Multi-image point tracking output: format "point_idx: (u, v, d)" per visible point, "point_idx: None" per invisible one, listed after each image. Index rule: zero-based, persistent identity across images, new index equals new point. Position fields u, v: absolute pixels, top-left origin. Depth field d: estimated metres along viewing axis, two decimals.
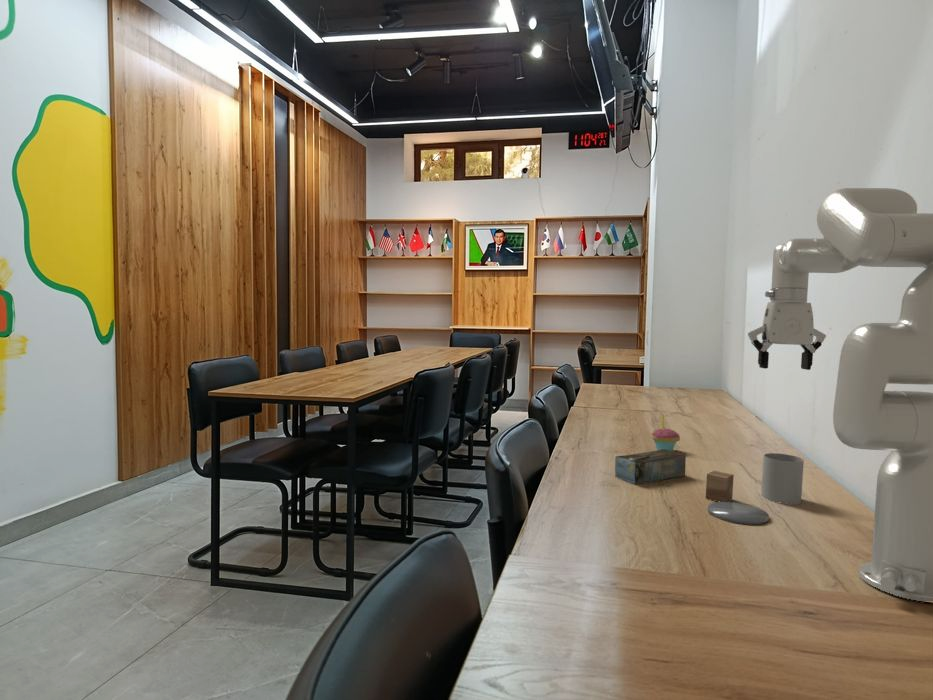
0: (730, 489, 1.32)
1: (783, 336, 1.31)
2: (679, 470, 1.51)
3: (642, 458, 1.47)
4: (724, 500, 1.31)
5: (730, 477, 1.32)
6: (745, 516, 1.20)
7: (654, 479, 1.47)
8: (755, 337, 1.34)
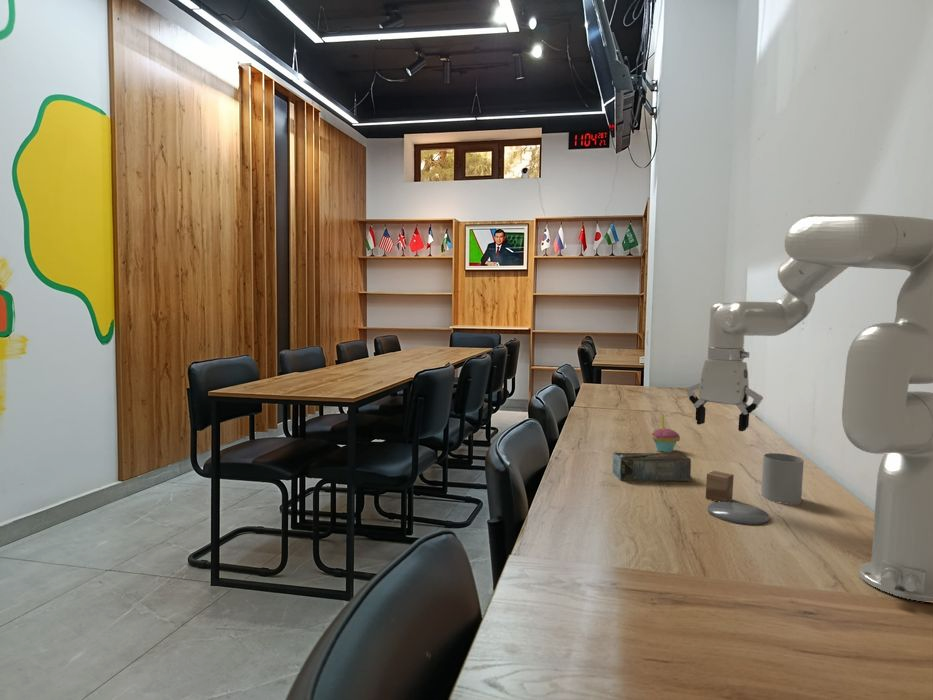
0: (730, 489, 1.32)
1: None
2: (681, 474, 1.47)
3: (635, 456, 1.49)
4: (724, 500, 1.31)
5: (730, 477, 1.32)
6: (745, 516, 1.20)
7: (647, 479, 1.47)
8: None
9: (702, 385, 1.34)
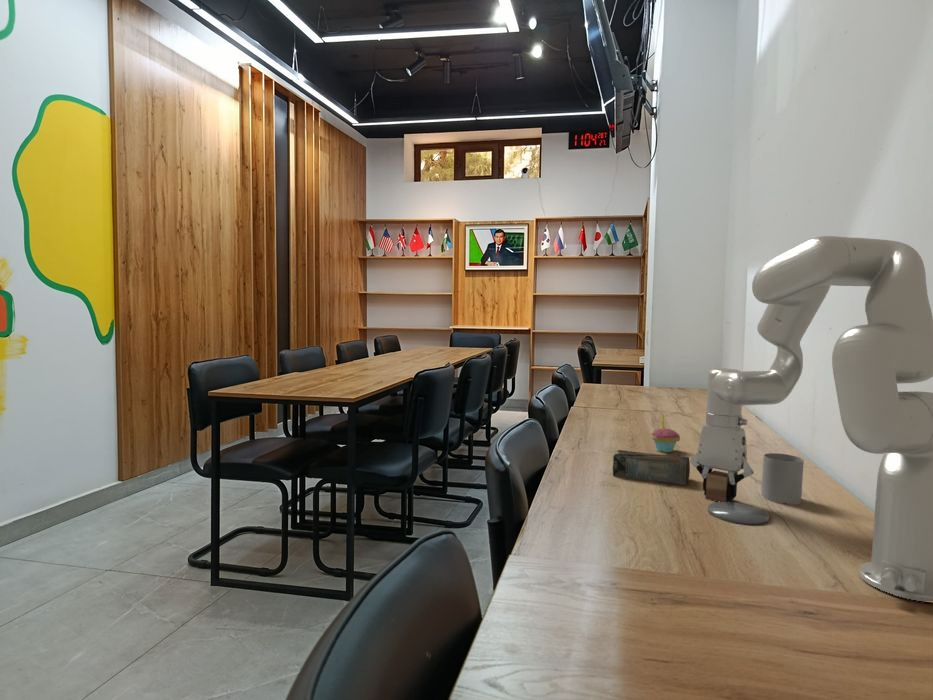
0: None
1: None
2: (676, 477, 1.44)
3: (631, 454, 1.51)
4: (724, 500, 1.31)
5: None
6: (745, 516, 1.20)
7: (639, 478, 1.48)
8: None
9: (700, 450, 1.34)
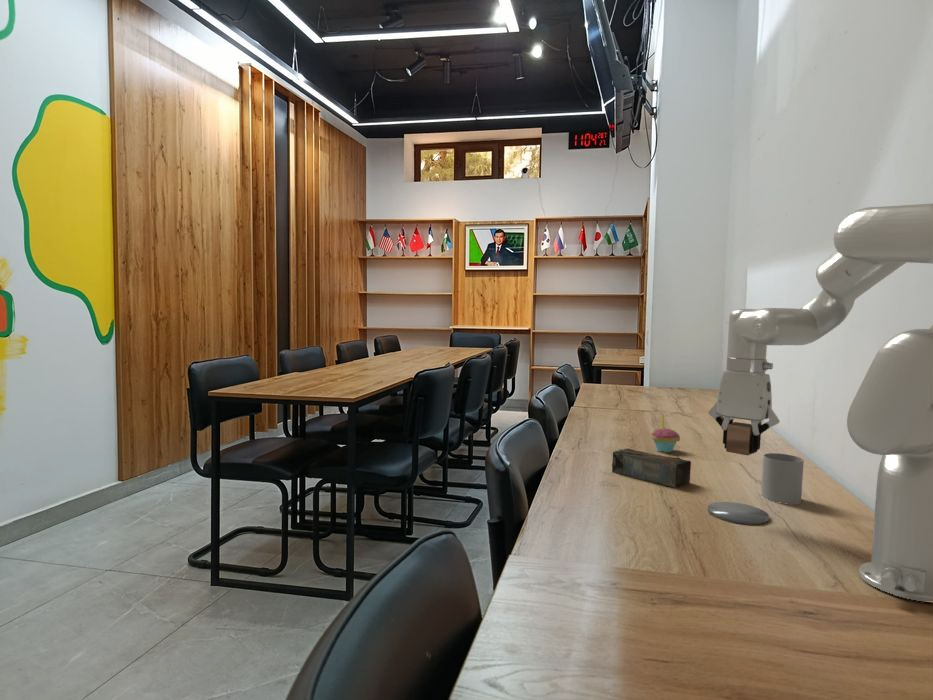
0: None
1: None
2: (666, 478, 1.43)
3: (630, 453, 1.53)
4: (747, 452, 1.19)
5: None
6: (745, 516, 1.20)
7: (634, 476, 1.50)
8: None
9: (720, 399, 1.23)
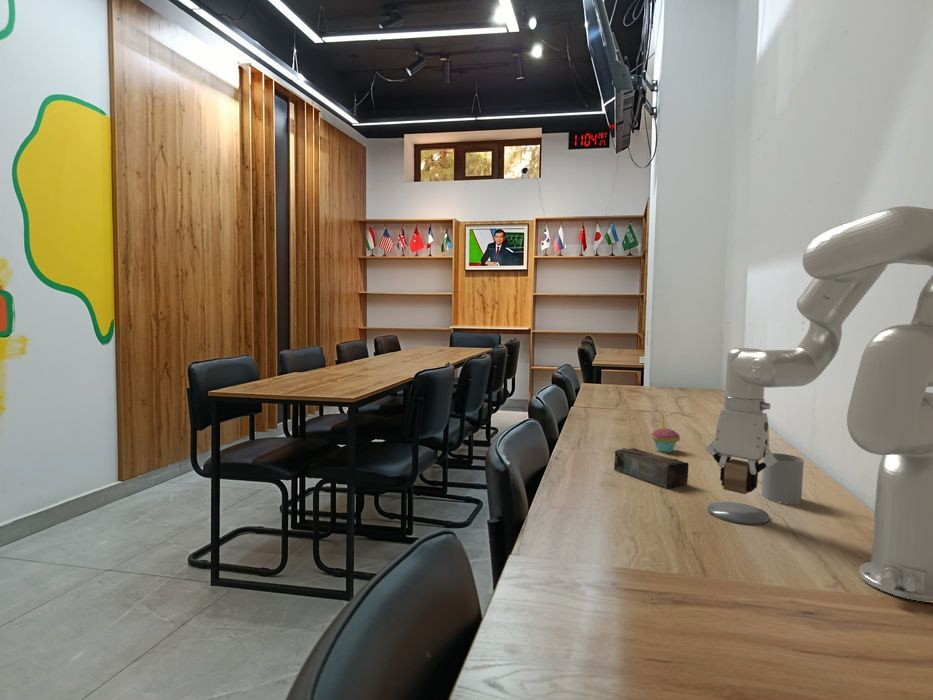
0: None
1: None
2: (658, 478, 1.43)
3: (631, 452, 1.54)
4: (744, 491, 1.20)
5: None
6: (745, 516, 1.20)
7: (632, 475, 1.51)
8: None
9: (718, 437, 1.24)
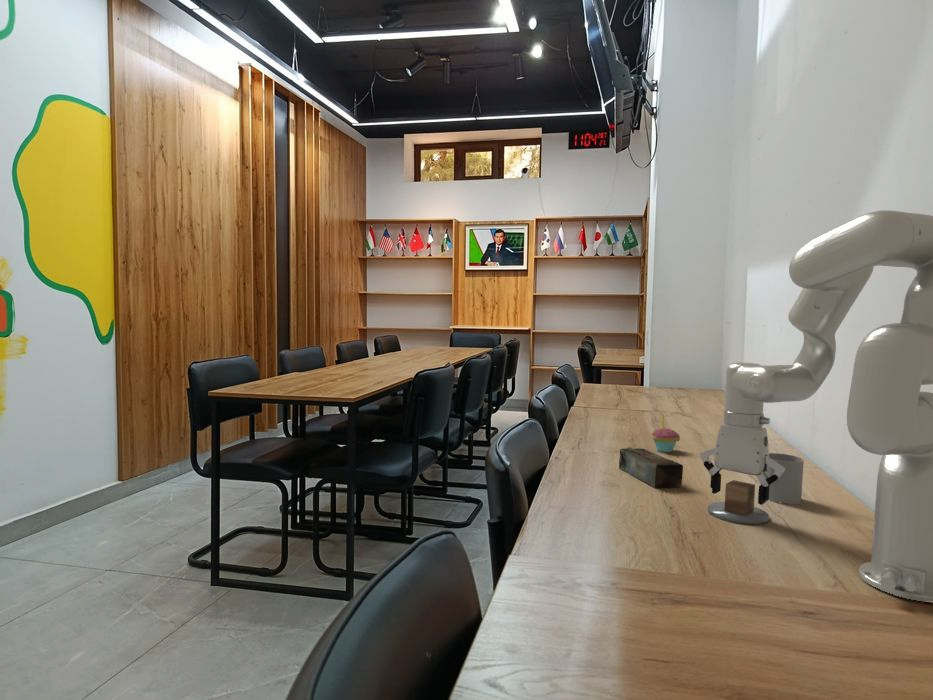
0: (751, 500, 1.21)
1: None
2: (649, 478, 1.43)
3: (633, 451, 1.54)
4: (745, 513, 1.20)
5: (751, 487, 1.21)
6: (745, 516, 1.20)
7: (631, 474, 1.52)
8: None
9: (718, 451, 1.24)
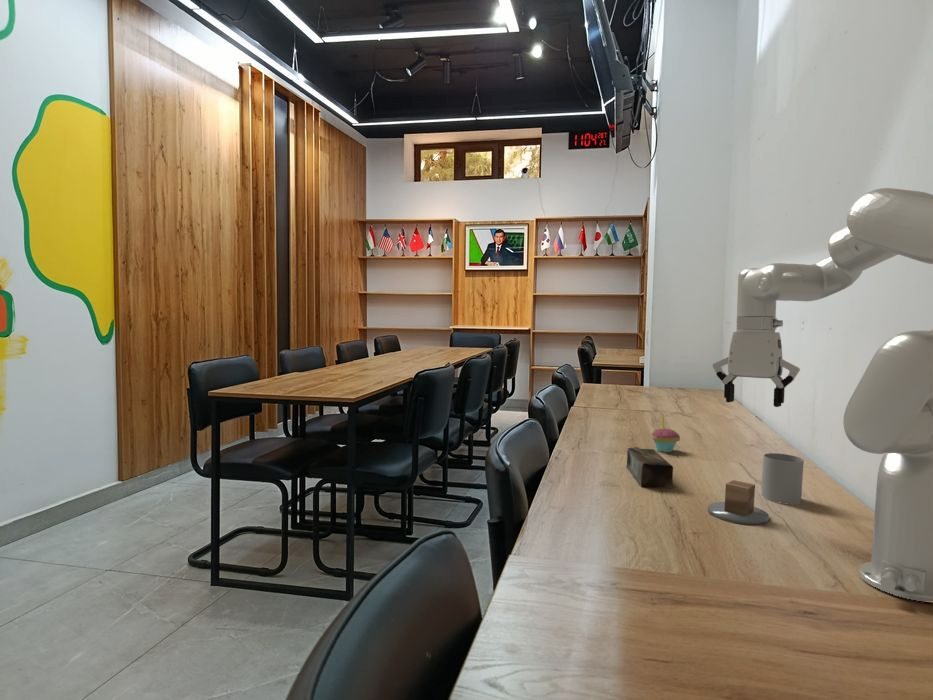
0: (751, 500, 1.21)
1: None
2: (638, 476, 1.44)
3: (637, 451, 1.55)
4: (745, 513, 1.20)
5: (751, 487, 1.21)
6: (745, 516, 1.20)
7: (631, 472, 1.53)
8: None
9: (731, 359, 1.24)
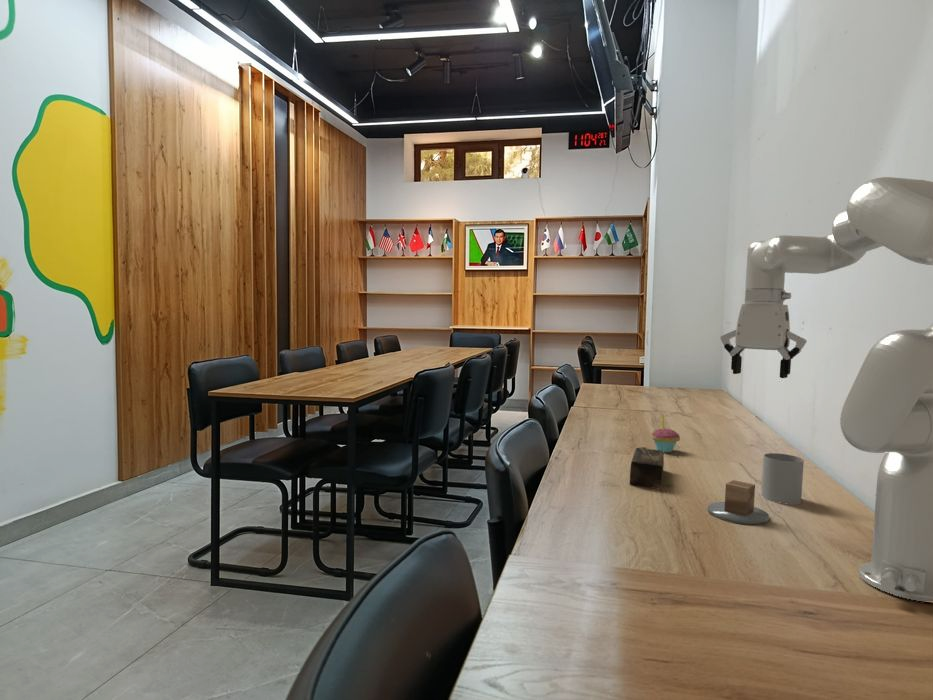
0: (751, 500, 1.21)
1: None
2: None
3: (642, 450, 1.55)
4: (745, 513, 1.20)
5: (751, 487, 1.21)
6: (745, 516, 1.20)
7: None
8: None
9: (739, 331, 1.26)
